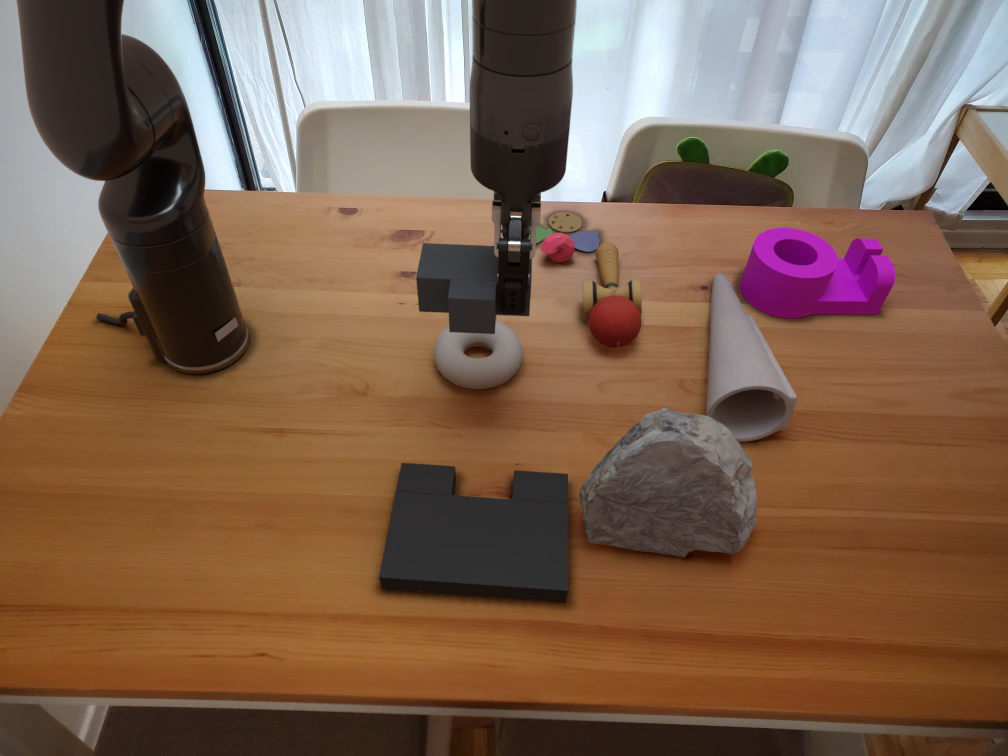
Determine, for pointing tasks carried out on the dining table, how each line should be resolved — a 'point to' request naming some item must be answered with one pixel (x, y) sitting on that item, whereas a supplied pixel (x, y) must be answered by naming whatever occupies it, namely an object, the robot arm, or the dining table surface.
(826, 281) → the tape dispenser
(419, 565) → the black pad
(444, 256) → the grey pad
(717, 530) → the decorative rock
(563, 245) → the toy pieces
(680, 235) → the dining table surface
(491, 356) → the donut
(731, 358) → the grey hollow cone
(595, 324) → the kendama
